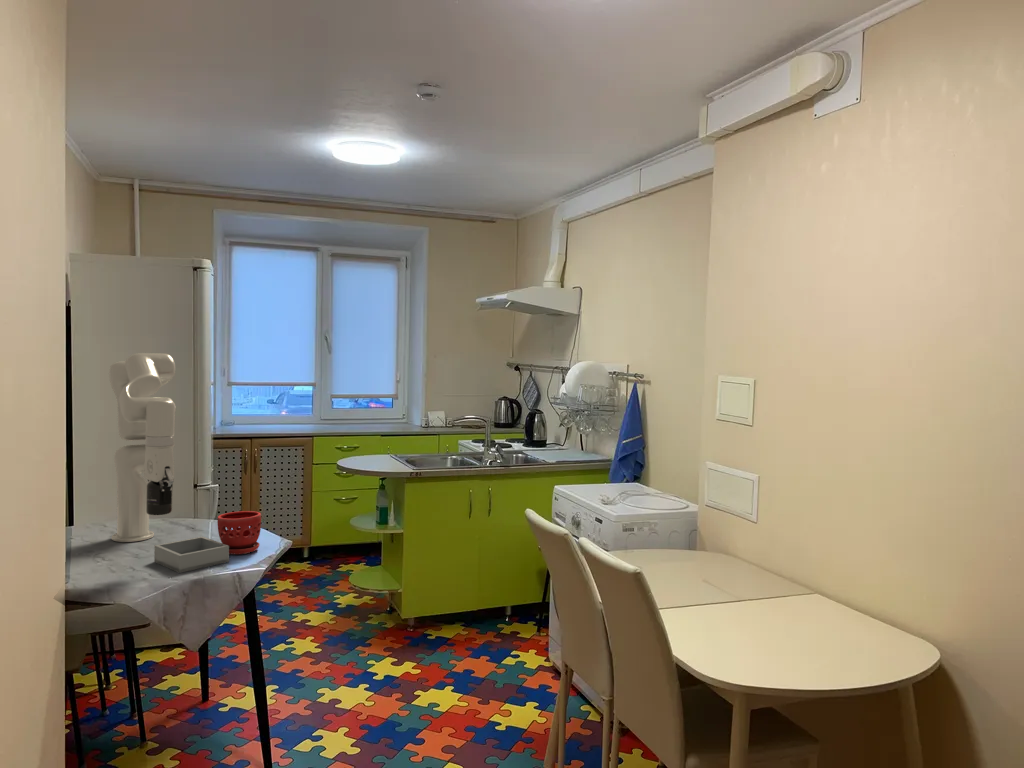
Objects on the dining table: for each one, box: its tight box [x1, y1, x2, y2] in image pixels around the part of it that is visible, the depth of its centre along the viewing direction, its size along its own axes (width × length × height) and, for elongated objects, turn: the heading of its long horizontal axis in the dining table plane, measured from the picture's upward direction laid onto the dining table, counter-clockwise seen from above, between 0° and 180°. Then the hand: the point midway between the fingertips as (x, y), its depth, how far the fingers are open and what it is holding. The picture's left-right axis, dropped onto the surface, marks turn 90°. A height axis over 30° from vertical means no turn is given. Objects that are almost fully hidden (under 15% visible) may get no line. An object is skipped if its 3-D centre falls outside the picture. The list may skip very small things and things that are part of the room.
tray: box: [153, 536, 230, 574], centre depth 213 cm, size 16×15×5 cm
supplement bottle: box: [146, 479, 174, 516], centre depth 206 cm, size 7×7×12 cm
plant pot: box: [217, 510, 262, 555], centre depth 225 cm, size 13×13×12 cm
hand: (159, 501), depth 206 cm, fingers closed on supplement bottle, 6 cm apart
